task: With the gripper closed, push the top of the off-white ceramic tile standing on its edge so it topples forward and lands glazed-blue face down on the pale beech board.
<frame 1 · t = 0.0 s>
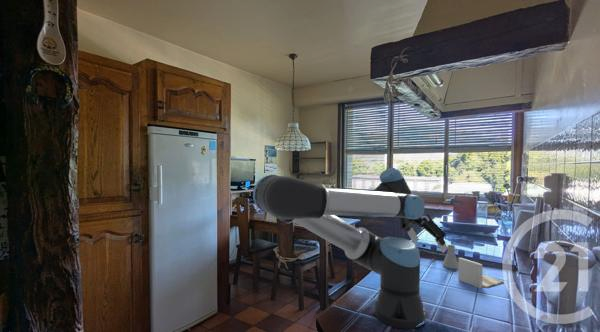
hand: (429, 245, 115), 15 cm above the kitchen counter, tool tilted 35°, fingers open, 13 cm apart
tile: (470, 283, 115), on the kitchen counter
flask: (451, 267, 134), on the kitchen counter
board: (481, 280, 118), on the kitchen counter
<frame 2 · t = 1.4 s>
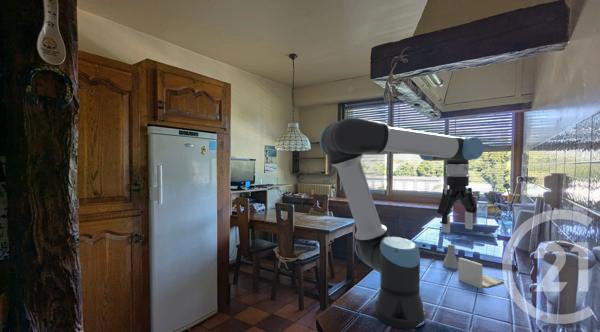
hand: (457, 230, 112), 22 cm above the kitchen counter, tool pointing down, fingers open, 12 cm apart
nothing on the kitchen counter moved.
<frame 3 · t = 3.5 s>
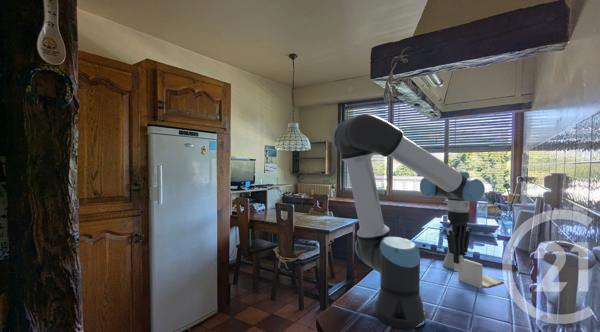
hand: (458, 271, 112), 6 cm above the kitchen counter, tool pointing down, fingers closed
nothing on the kitchen counter moved.
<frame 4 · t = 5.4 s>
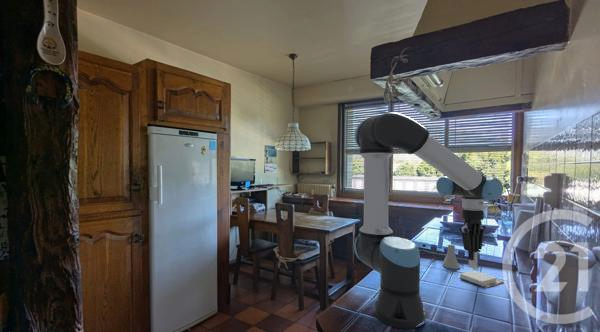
hand: (472, 267, 116), 6 cm above the kitchen counter, tool pointing down, fingers closed
tile: (470, 279, 116), point 1 cm above the kitchen counter, tilted 90°, touching board
everything else where it was.
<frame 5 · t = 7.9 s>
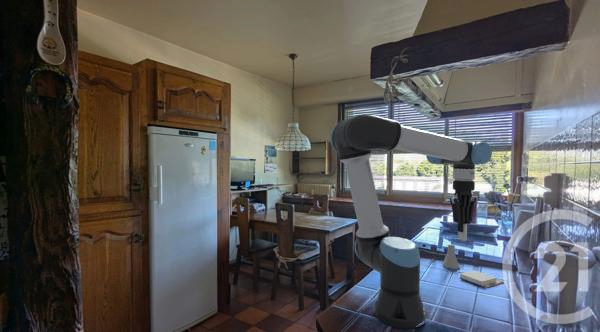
hand: (462, 240, 114), 18 cm above the kitchen counter, tool pointing down, fingers closed
nothing on the kitchen counter moved.
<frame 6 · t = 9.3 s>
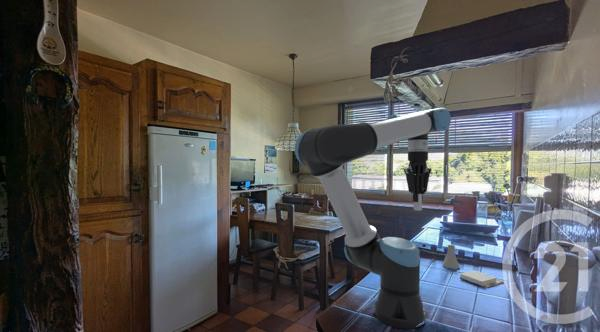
hand: (417, 209, 115), 29 cm above the kitchen counter, tool pointing down, fingers closed
nothing on the kitchen counter moved.
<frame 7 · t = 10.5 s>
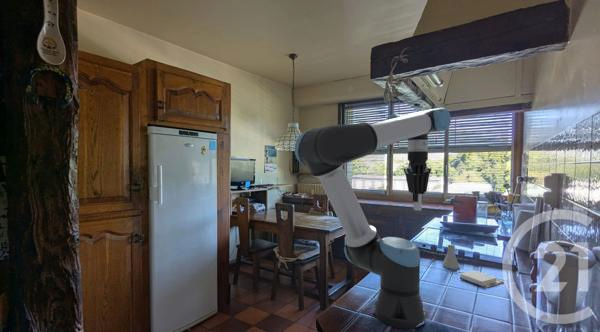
hand: (417, 209, 115), 29 cm above the kitchen counter, tool pointing down, fingers closed
nothing on the kitchen counter moved.
at the end: tile tilted 90°; tile inside the target area (4.0 cm from its centre), point 1.4 cm above the kitchen counter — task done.
